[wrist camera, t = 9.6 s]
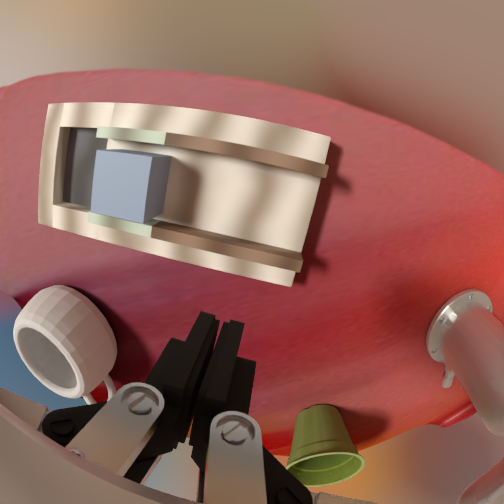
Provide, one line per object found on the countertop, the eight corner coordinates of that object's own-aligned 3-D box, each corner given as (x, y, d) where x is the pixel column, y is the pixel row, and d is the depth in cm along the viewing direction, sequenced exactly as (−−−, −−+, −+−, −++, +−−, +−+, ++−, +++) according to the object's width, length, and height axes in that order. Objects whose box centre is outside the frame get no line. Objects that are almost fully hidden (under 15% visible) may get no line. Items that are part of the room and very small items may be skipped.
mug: (29, 298, 39) (-6, 325, 29) (80, 263, 35) (35, 294, 26) (96, 391, 44) (73, 427, 35) (159, 379, 41) (137, 425, 31)
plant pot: (288, 439, 44) (288, 491, 33) (276, 400, 40) (274, 460, 29) (353, 428, 42) (363, 479, 31) (353, 387, 38) (367, 445, 28)
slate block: (172, 155, 27) (152, 156, 23) (163, 212, 29) (143, 223, 25) (122, 149, 27) (96, 149, 23) (115, 202, 29) (90, 211, 25)
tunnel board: (326, 138, 28) (336, 135, 23) (290, 277, 33) (292, 297, 28) (60, 105, 28) (36, 102, 23) (49, 218, 33) (26, 227, 29)
